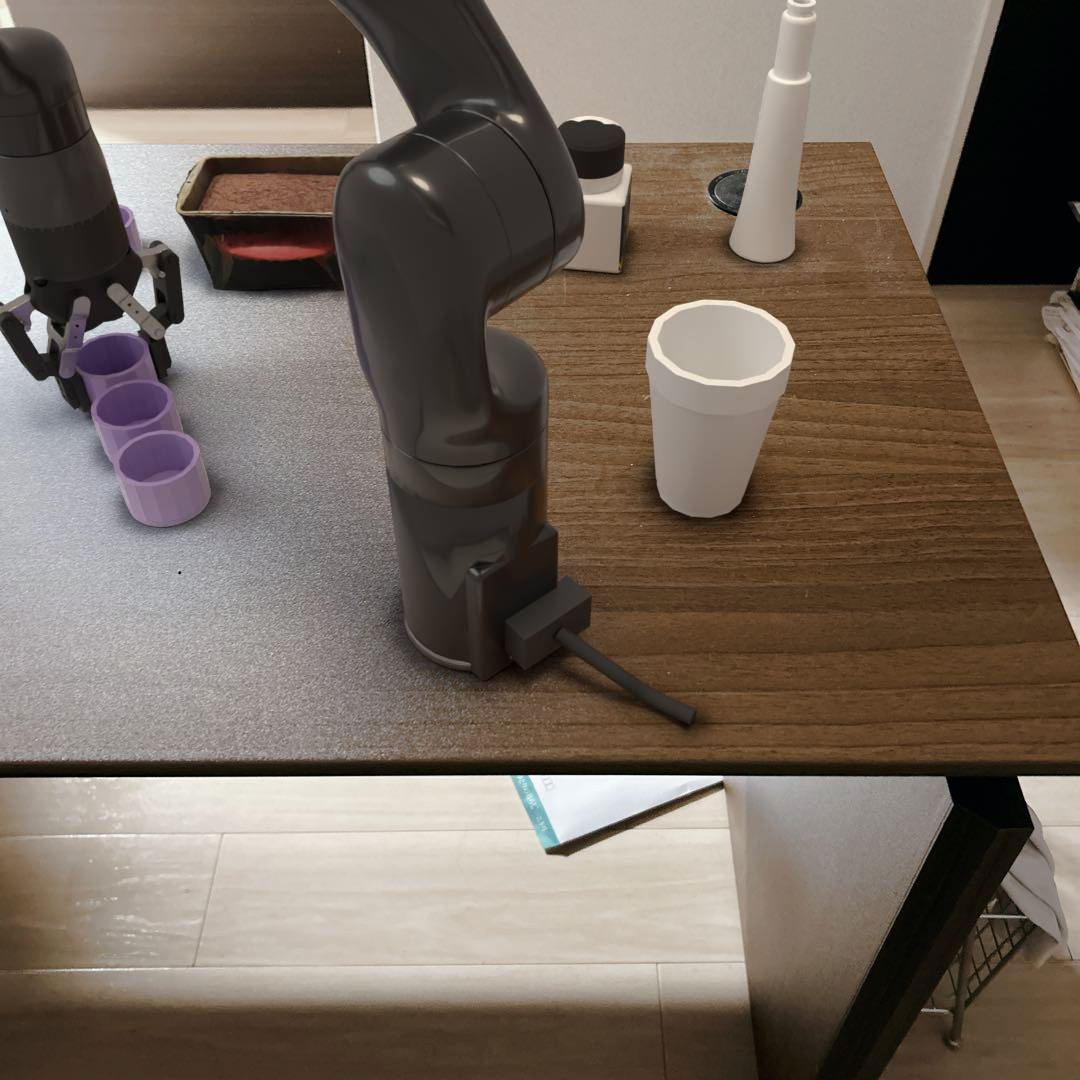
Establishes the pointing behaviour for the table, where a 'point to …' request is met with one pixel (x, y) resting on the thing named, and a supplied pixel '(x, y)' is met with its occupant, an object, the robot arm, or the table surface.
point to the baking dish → (264, 219)
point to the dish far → (131, 228)
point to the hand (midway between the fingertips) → (121, 389)
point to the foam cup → (713, 399)
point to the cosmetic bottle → (778, 145)
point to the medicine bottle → (600, 190)
